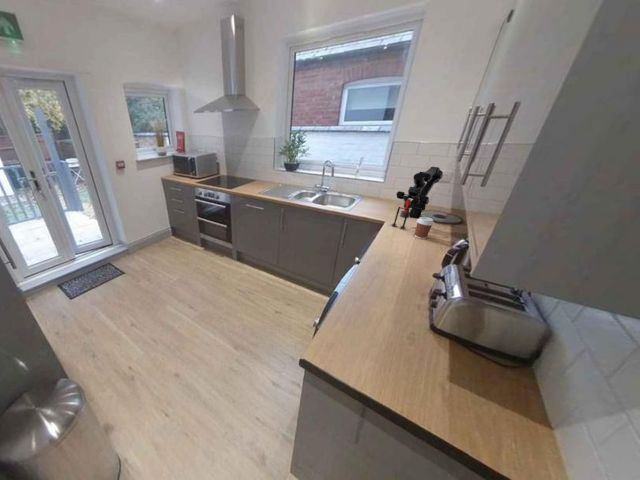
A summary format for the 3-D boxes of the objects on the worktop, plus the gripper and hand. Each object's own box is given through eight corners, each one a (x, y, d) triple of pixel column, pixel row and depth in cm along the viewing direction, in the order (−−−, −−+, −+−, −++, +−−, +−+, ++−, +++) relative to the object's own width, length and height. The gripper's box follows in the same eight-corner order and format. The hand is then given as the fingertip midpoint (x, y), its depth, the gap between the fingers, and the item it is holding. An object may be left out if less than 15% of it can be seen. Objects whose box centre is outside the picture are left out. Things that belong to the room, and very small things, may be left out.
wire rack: (393, 225, 176) (398, 206, 170) (404, 228, 171) (410, 209, 164) (391, 225, 175) (397, 206, 168) (403, 229, 170) (409, 209, 163)
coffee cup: (419, 232, 165) (425, 215, 159) (432, 238, 157) (439, 220, 152) (408, 234, 162) (414, 217, 157) (421, 240, 155) (427, 222, 149)
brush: (401, 214, 177) (406, 197, 171) (409, 216, 173) (415, 199, 167) (397, 217, 173) (402, 199, 167) (406, 219, 169) (411, 201, 164)
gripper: (401, 179, 171) (390, 198, 170) (433, 184, 158) (421, 205, 157) (402, 188, 179) (392, 206, 178) (433, 194, 166) (422, 214, 165)
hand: (406, 208), depth 169 cm, fingers closed on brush, 2 cm apart
